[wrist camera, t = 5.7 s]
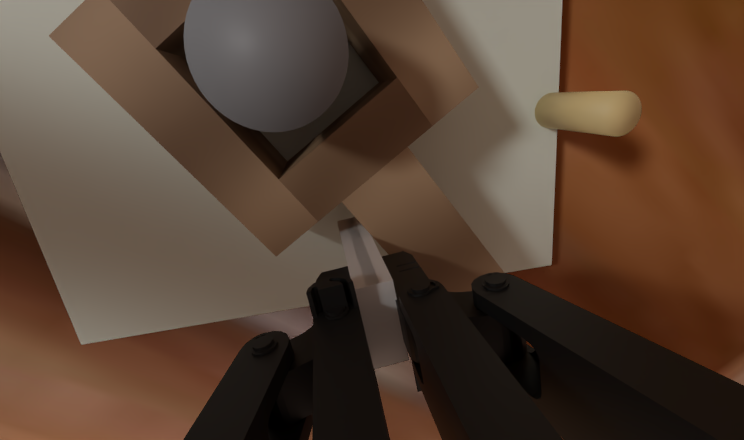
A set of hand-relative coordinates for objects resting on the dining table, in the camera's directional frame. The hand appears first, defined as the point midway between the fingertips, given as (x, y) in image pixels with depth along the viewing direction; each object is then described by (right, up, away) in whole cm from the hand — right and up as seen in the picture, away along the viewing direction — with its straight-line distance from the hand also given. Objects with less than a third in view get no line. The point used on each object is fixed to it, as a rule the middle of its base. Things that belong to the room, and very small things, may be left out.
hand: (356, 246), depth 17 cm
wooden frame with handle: (0, +4, 0) cm, 4 cm away
